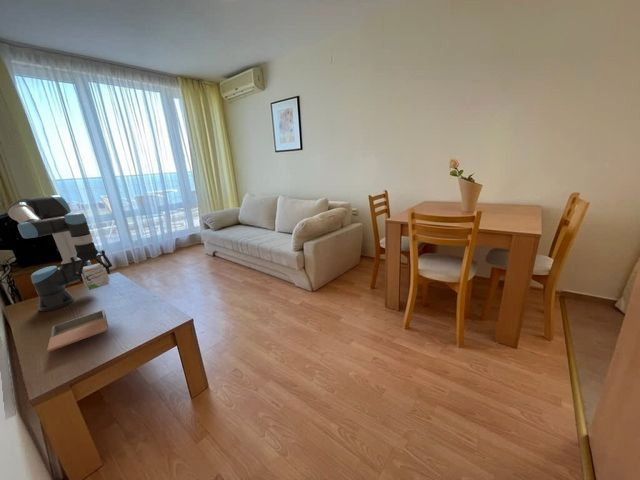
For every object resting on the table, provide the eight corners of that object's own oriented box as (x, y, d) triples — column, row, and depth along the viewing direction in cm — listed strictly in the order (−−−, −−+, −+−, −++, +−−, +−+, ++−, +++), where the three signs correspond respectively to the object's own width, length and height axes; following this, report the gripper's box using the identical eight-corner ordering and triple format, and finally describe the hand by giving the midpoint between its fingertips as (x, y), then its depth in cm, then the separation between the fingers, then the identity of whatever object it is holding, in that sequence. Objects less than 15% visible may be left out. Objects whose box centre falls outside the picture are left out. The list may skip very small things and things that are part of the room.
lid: (47, 350, 107) (47, 352, 108) (106, 328, 120) (107, 330, 120) (50, 337, 117) (50, 339, 117) (105, 318, 130) (105, 320, 130)
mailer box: (55, 333, 128) (52, 326, 127) (106, 316, 141) (103, 309, 139) (54, 346, 119) (50, 338, 117) (108, 326, 131) (105, 319, 130)
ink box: (89, 290, 133) (81, 269, 130) (88, 287, 137) (80, 267, 133) (109, 284, 139) (102, 264, 136) (107, 281, 143) (101, 262, 139)
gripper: (54, 250, 121) (70, 292, 128) (110, 239, 135) (122, 277, 142) (54, 247, 126) (70, 287, 133) (109, 236, 140) (120, 274, 147)
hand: (97, 282), depth 137 cm, fingers closed on ink box, 9 cm apart
